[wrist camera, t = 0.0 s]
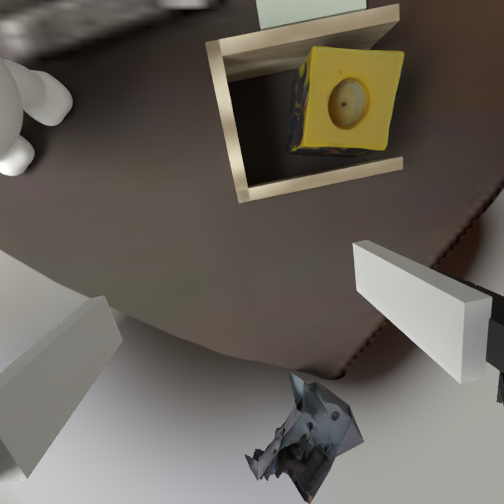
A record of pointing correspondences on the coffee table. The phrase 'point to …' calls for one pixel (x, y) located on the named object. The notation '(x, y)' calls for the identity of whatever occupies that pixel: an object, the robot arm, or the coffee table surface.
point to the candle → (343, 101)
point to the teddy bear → (32, 102)
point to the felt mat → (302, 11)
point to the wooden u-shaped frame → (284, 59)
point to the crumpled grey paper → (308, 439)
